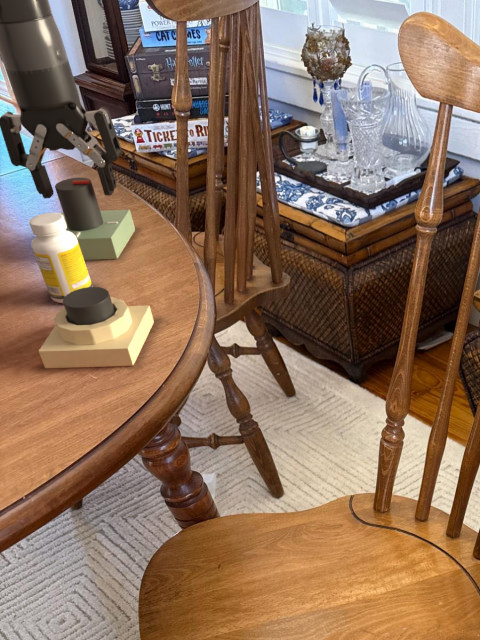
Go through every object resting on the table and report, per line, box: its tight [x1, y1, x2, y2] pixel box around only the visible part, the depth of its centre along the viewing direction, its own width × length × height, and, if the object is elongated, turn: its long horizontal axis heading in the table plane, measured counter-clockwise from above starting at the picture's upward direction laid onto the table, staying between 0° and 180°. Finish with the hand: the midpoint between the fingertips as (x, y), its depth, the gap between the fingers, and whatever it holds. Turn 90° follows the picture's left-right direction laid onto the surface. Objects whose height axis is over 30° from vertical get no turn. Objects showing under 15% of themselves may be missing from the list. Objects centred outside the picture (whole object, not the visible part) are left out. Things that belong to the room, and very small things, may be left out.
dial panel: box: [60, 209, 136, 261], centre depth 111 cm, size 10×10×3 cm
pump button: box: [62, 286, 115, 325], centre depth 88 cm, size 5×5×2 cm
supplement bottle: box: [28, 212, 94, 304], centre depth 97 cm, size 5×5×10 cm
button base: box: [38, 296, 155, 369], centre depth 90 cm, size 10×10×4 cm
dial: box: [54, 177, 103, 231], centre depth 108 cm, size 5×5×6 cm
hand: (79, 194), depth 107 cm, fingers open, 8 cm apart
